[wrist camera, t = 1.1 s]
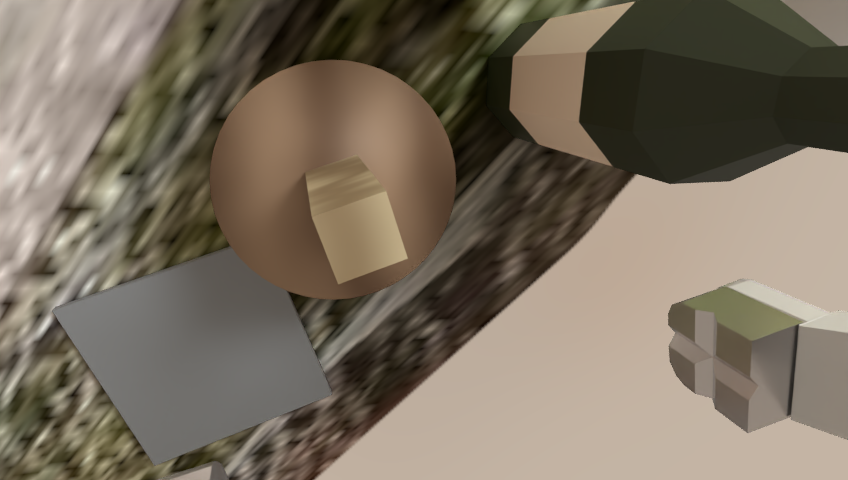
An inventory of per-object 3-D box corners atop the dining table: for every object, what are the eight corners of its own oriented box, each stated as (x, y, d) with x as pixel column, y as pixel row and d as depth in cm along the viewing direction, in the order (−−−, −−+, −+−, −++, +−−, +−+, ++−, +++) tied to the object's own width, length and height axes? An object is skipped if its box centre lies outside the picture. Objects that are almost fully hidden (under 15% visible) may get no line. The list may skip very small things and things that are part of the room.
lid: (415, 28, 27) (479, 8, 18) (473, 247, 32) (546, 318, 23) (166, 104, 25) (97, 124, 16) (270, 324, 31) (261, 433, 21)
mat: (263, 234, 35) (262, 237, 34) (331, 390, 40) (332, 394, 39) (56, 306, 33) (52, 310, 32) (156, 460, 38) (154, 465, 38)
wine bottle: (464, 114, 36) (1059, 269, 8) (513, -2, 34) (1480, -311, 6) (557, 156, 38) (1231, 376, 11) (607, 51, 37) (1553, -4, 9)
